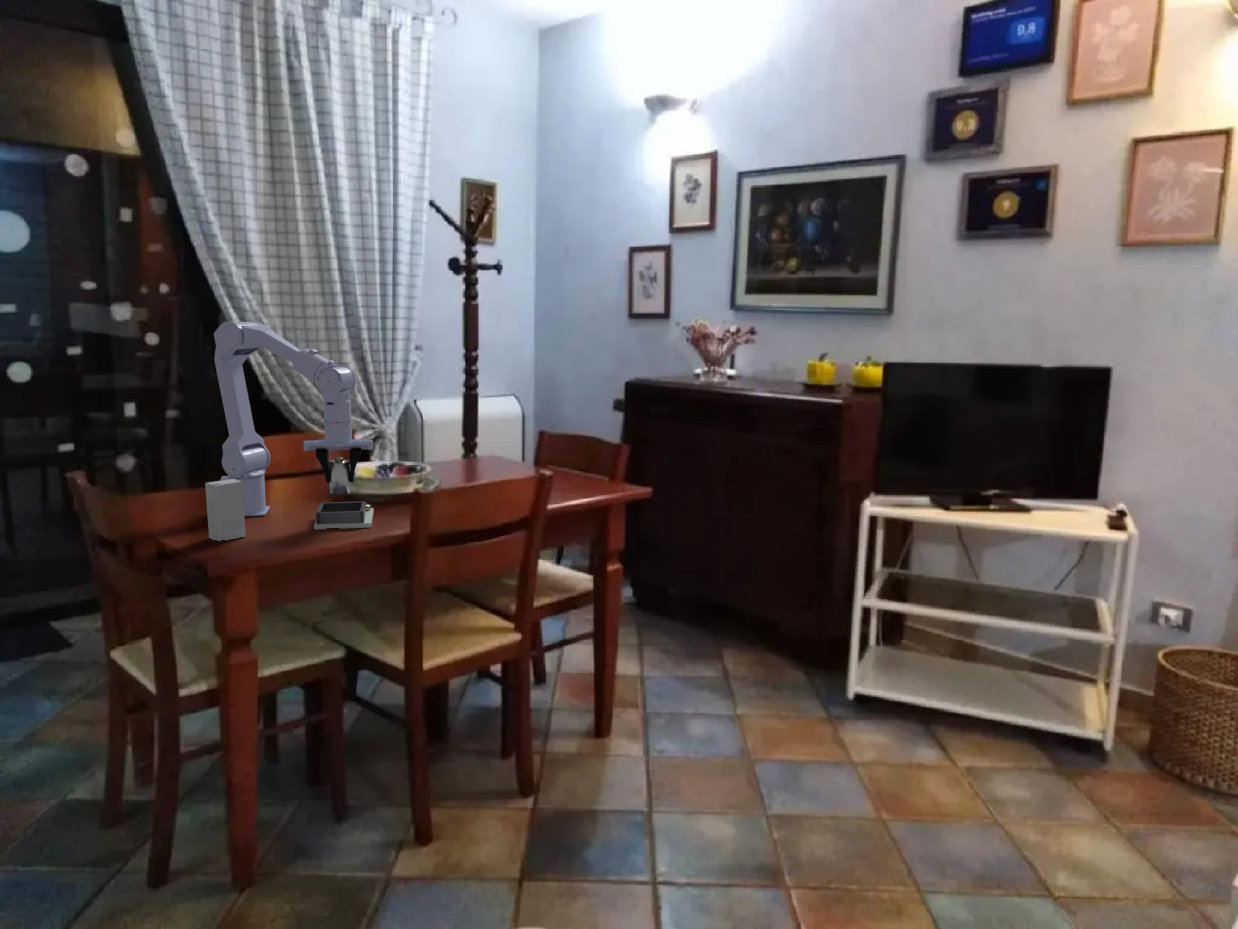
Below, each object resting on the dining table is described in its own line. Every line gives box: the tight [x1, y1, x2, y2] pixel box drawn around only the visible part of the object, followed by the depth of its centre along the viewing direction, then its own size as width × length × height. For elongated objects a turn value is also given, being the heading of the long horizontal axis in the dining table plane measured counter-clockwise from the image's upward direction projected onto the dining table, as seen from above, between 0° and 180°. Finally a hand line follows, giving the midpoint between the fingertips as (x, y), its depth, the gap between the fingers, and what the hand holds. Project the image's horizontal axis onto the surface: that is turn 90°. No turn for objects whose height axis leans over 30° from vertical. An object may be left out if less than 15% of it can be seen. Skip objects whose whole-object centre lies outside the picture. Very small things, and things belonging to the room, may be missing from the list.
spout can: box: [329, 456, 352, 495], centre depth 194 cm, size 4×6×8 cm
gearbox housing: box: [313, 501, 374, 530], centre depth 196 cm, size 12×14×4 cm
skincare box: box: [204, 479, 247, 542], centre depth 179 cm, size 6×4×12 cm
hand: (340, 481), depth 193 cm, fingers closed on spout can, 4 cm apart
